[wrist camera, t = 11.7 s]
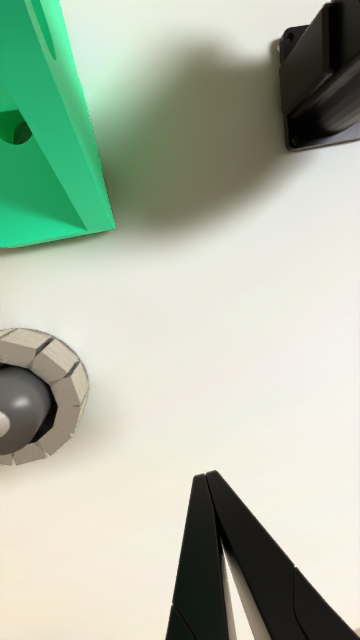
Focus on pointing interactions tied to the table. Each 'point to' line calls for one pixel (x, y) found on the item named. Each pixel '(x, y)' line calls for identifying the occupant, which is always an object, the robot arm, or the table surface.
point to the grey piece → (64, 379)
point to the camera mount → (45, 133)
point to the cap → (21, 406)
